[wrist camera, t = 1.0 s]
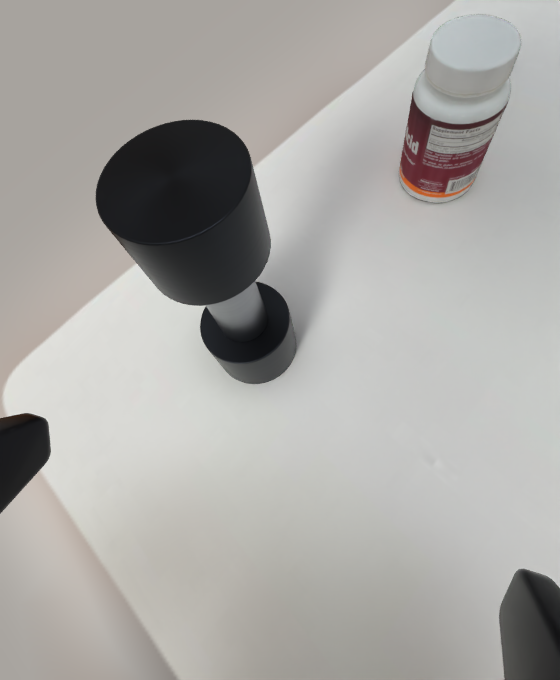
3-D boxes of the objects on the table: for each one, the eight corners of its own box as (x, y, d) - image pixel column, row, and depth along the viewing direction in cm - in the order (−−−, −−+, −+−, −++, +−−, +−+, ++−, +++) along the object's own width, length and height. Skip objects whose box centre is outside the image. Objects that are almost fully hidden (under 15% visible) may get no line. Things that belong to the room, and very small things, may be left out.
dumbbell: (294, 384, 22) (243, 241, 10) (214, 383, 23) (77, 247, 11) (297, 310, 24) (257, 112, 12) (223, 311, 24) (114, 125, 12)
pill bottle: (400, 148, 27) (425, 9, 20) (474, 151, 26) (529, 6, 19) (394, 203, 26) (418, 74, 18) (473, 207, 25) (533, 74, 17)
